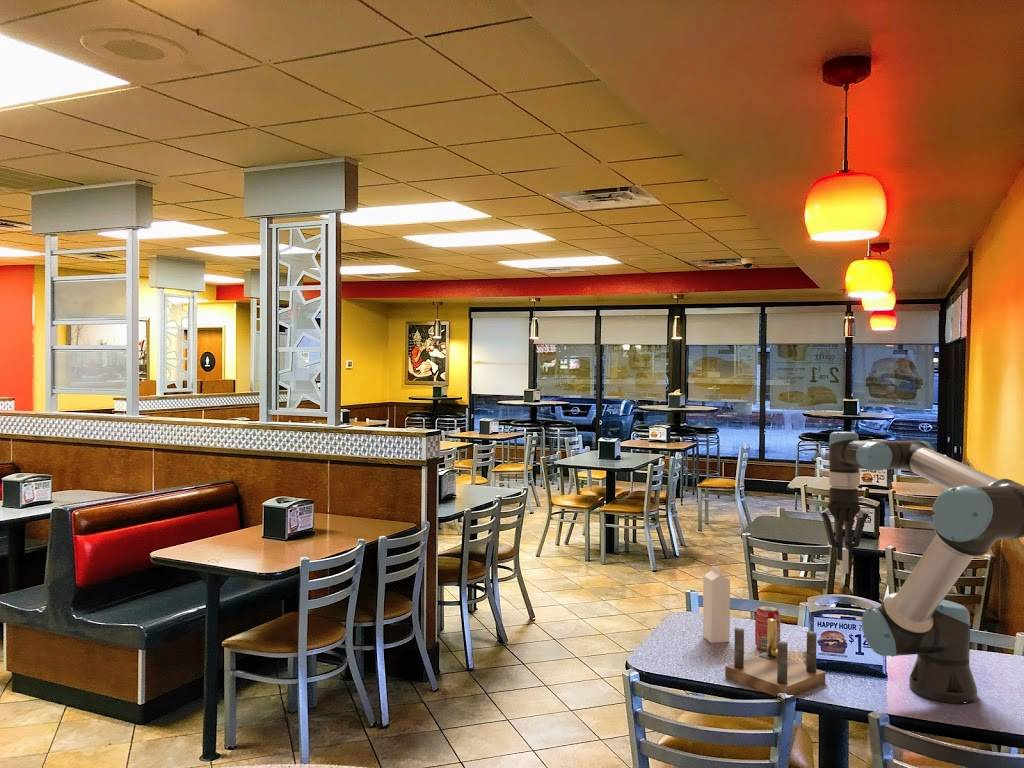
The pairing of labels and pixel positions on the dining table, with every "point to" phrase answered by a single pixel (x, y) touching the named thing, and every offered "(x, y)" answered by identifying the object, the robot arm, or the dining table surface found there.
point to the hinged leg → (772, 637)
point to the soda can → (765, 624)
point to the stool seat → (775, 668)
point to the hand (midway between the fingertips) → (843, 571)
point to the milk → (716, 606)
